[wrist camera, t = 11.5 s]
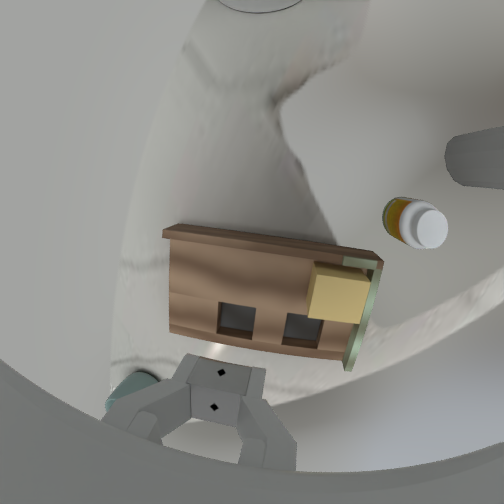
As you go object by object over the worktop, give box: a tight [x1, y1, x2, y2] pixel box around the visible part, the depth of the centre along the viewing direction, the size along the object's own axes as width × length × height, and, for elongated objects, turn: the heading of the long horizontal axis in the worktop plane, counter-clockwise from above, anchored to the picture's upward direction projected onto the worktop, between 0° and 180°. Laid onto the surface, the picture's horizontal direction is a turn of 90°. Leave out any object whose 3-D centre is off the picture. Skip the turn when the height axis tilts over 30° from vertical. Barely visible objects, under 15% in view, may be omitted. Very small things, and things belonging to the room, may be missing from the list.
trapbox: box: [162, 224, 384, 372], centre depth 35 cm, size 16×26×6 cm, turn 83°
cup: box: [105, 372, 158, 411], centre depth 40 cm, size 8×8×10 cm
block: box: [306, 262, 371, 324], centre depth 31 cm, size 5×6×5 cm
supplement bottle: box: [382, 197, 448, 249], centre depth 28 cm, size 5×5×10 cm
